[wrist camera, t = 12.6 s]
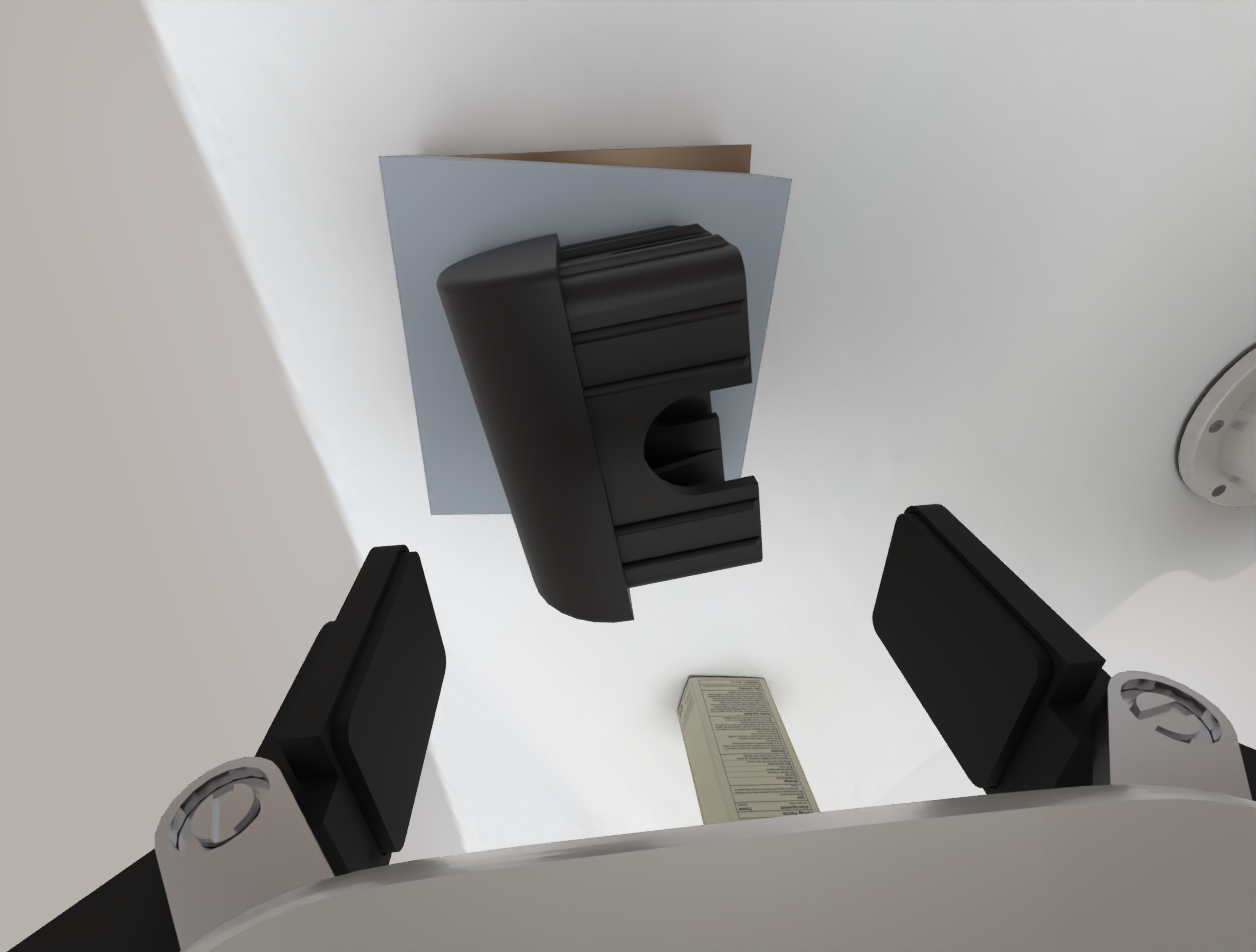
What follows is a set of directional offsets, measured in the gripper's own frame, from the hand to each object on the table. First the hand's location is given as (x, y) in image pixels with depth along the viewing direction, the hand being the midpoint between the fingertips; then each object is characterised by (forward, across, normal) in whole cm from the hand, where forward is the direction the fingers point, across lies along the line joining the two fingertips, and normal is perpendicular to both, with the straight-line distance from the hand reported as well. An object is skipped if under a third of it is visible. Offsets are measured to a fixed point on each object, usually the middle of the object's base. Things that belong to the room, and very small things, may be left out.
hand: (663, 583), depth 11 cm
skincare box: (+20, -8, +29) cm, 36 cm away
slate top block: (+15, +1, -1) cm, 15 cm away
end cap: (+10, +1, 0) cm, 11 cm away
